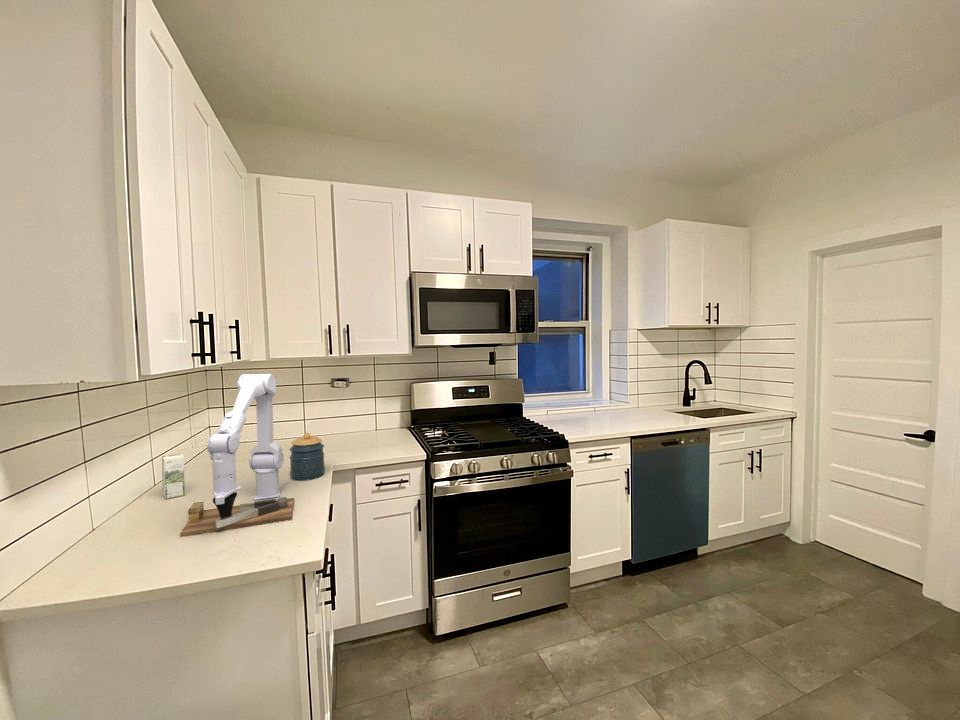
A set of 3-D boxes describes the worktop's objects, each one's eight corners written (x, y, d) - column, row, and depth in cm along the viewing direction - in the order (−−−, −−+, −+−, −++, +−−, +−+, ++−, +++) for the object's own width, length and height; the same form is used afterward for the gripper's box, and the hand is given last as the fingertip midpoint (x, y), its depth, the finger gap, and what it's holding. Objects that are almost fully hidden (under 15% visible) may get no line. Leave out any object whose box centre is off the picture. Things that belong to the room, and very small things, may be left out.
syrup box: (182, 491, 147) (181, 452, 147) (185, 495, 143) (184, 455, 142) (162, 495, 143) (161, 455, 143) (165, 500, 139) (163, 458, 138)
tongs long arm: (214, 527, 114) (214, 519, 114) (276, 508, 127) (276, 501, 127) (216, 528, 113) (216, 521, 113) (278, 509, 126) (278, 503, 126)
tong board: (196, 514, 126) (195, 503, 126) (294, 501, 137) (293, 490, 137) (180, 537, 111) (179, 523, 111) (291, 519, 122) (291, 507, 122)
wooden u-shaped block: (194, 515, 122) (193, 502, 122) (203, 514, 123) (203, 501, 123) (188, 523, 117) (188, 509, 117) (198, 521, 118) (198, 508, 118)
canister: (286, 482, 156) (285, 437, 156) (294, 472, 169) (293, 430, 168) (321, 479, 159) (320, 435, 158) (327, 469, 172) (326, 429, 171)
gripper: (235, 479, 112) (237, 527, 112) (244, 465, 125) (245, 508, 126) (205, 483, 109) (207, 532, 110) (218, 468, 123) (219, 512, 123)
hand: (226, 519), depth 118 cm, fingers closed
